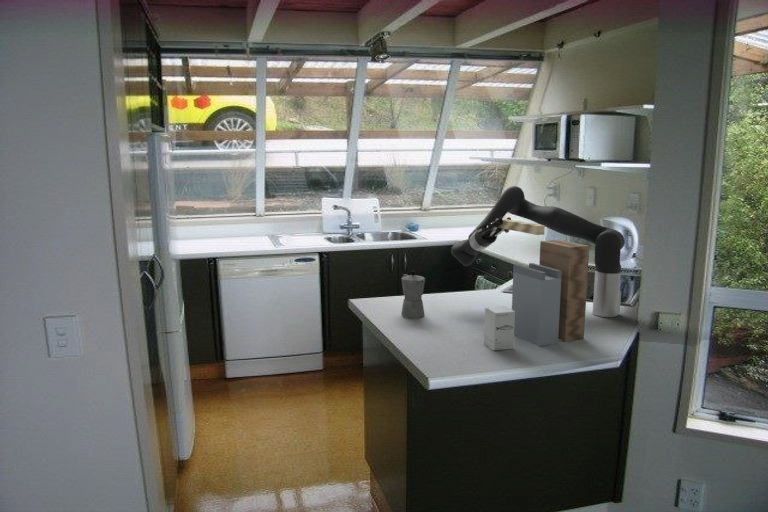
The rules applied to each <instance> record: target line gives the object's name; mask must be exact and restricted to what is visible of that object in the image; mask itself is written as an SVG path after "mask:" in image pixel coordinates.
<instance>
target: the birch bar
mask: <svg viewBox="0 0 768 512" xmlns="http://www.w3.org/2000/svg"><path fill="white" fill-rule="evenodd" d="M502 219H503V224H501V225H500V226H499V227H498V228H503V229H508V230H509V231H515V232H520V233H525V234H528V235H536V236H543V235H545V225H540V224H538V223H534V222H533V223H532V222H525V221H519V220H513V219H511V220H508V219H507V218H502ZM497 220H498V219H495V221H497Z"/></svg>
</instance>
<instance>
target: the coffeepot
mask: <svg viewBox="0 0 768 512" xmlns="http://www.w3.org/2000/svg"><path fill="white" fill-rule="evenodd" d="M410 272H411V274H410V275H408V274H405V273H401V274H400V275H399V283H400V289H401V293H402V294H403V295H404V299H403V301H402V308H401V312H400V313H401V316H402V317H403V318H405V319H410V318H411V319H414V318H416V319H421V317H422V318H423V317H425V315H426V314H425V310H424V309H425V308H424V304H423V303H424V302H423V298H422V296H423V294H424V290H425V289H424V288H425V283H426V278H425V277H424V276H421V275H416V270H414V269H413V270H411V271H410ZM411 319H410V320H411ZM414 320H415V319H414Z"/></svg>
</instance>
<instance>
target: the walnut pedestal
mask: <svg viewBox="0 0 768 512" xmlns="http://www.w3.org/2000/svg"><path fill="white" fill-rule="evenodd" d="M589 256H590V245H587V244H583V243H578V242H571V241H567V240H561V239H554V240H552V239H551V240H540V245H539V261H538V262H539V264H538V265H542V266H546V267H549V268H553V269H557V270H561V271H562V275H561V294H560V313H559V332H558V340H560V341H562V342H565V343H567V342H573V341H579V340H584V339H585V325H586V324H585V323H586V309H587V307H586V306H587V296H588V295H587V293H588V292H587V291H588V279H589V277H588V275H589V260H590V259H589V258H590V257H589Z"/></svg>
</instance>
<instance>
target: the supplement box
mask: <svg viewBox="0 0 768 512" xmlns="http://www.w3.org/2000/svg"><path fill="white" fill-rule="evenodd" d="M514 326H515V311H513V310H512V308H509V307H507V306H505V305H503V306H491V307H484V328H483V329H484V331H483V344H484V345H485V346H486V347H488V348H489V349H490V350H492V351H499V350H500V351H501V350H502V351H503V350H511V349H512V350H513V349H514V346H515V345H514V343H515V335H514Z"/></svg>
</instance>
